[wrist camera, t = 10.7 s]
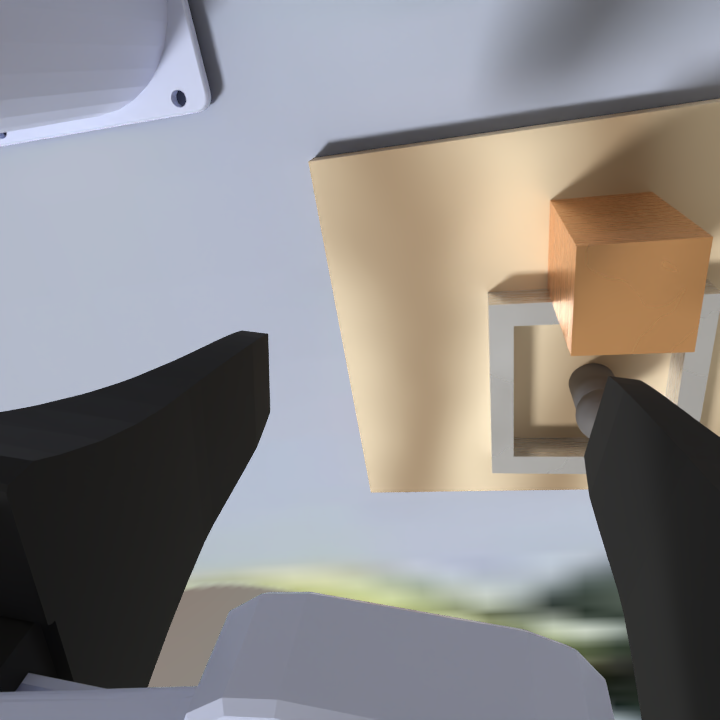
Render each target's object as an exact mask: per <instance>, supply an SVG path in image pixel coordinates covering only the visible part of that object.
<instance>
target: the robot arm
mask: <svg viewBox="0 0 720 720" xmlns="http://www.w3.org/2000/svg"><path fill="white" fill-rule="evenodd" d="M179 90H180V91H182V92H183V93H184V94H185V96H186V104H185V106H181V105H180V104H179V103H178V101H177V99H176V94H177V92H178V91H179ZM210 102H211V92H210V88H209V84H208V80H207V76H206V72H205V68H204V64H203V60H202V56H201V52H200V48H199V44H198V40H197V36H196V32H195V28H194V24H193V20H192V16H191V12H190V8H189V4H188V0H0V147H1V146H7V145H12V144H18V143H24V142H30V141H36V140H41V139H47V138H53V137H59V136H65V135H70V134H76V133H82V132H88V131H94V130H99V129H105V128H111V127H117V126H123V125H128V124H134V123H140V122H146V121H152V120H157V119H163V118H169V117H175V116H181V115H186V114H192V113H198V112H202V111H204V110H206V109H207V108H208V107H209V105H210ZM4 132H7V135H6V136H5V135H4V134H3V133H4ZM269 414H270V390H269V351H268V334H265V333H257V332H249V331H239V332H236V333H233V334H231V335H228V336H226V337H224V338H221V339H219V340H217V341H215V342H213V343H211V344H209V345H207V346H205V347H202V348H200V349H198V350H196V351H194V352H192V353H190V354H188V355H185V356H183V357H181V358H179V359H177V360H175V361H172V362H170V363H168V364H165V365H163V366H161V367H158V368H156V369H153V370H151V371H149V372H146V373H144V374H142V375H139V376H137V377H134V378H131V379H129V380H126V381H123V382H120V383H117V384H115V385H111V386H108V387H105V388H102V389H99V390H96V391H92V392H89V393H85V394H82V395H78V396H74V397H70V398H65V399H61V400H57V401H53V402H49V403H45V404H41V405H37V406H32V407H26V408H21V409H16V410H10V411H5V412H0V720H614V715H613V711H612V707H611V702H610V698H609V693H608V689H607V684H606V680H605V679H604V678H603V677H602V676H601V675H600V674H599V673H598V672H597V671H596V670H595V668H594V667H593V666H592V665H591V664H590V663H589V662H588V661H587V660H586V659H585V658H584V657H583V656H582V655H581V654H580V653H579V652H578V651H577V650H576V649H574V648H572V647H570V646H568V645H565V644H562V643H560V642H557V641H554V640H551V639H549V638H546V637H543V636H540V635H538V634H535V633H532V632H529V631H527V630H524V629H518V628H512V627H507V626H501V625H495V624H490V623H484V622H478V621H473V620H467V619H461V618H456V617H450V616H444V615H439V614H433V613H427V612H421V611H416V610H410V609H404V608H399V607H393V606H387V605H382V604H376V603H370V602H365V601H359V600H353V599H348V598H342V597H336V596H331V595H325V594H319V593H313V592H269V593H263V594H260V595H258V596H256V597H255V598H253V599H251V600H249V601H247V602H245V603H243V604H242V605H240V606H238V607H236V608H234V609H232V610H230V611H229V613H228V616H227V618H226V621H225V623H224V625H223V627H222V630H221V632H220V635H219V637H218V639H217V642H216V644H215V646H214V649H213V651H212V654H211V656H210V658H209V660H208V663H207V665H206V668H205V670H204V672H203V675H202V677H201V679H200V682H199V684H198V686H184V687H183V686H181V687H149V688H147V687H148V684H149V681H150V679H151V676H152V673H153V670H154V668H155V665H156V662H157V660H158V657H159V654H160V651H161V649H162V646H163V643H164V641H165V638H166V635H167V632H168V630H169V627H170V625H171V622H172V619H173V617H174V614H175V612H176V610H177V607H178V604H179V602H180V600H181V597H182V594H183V592H184V590H185V587H186V585H187V582H188V580H189V577H190V575H191V573H192V570H193V568H194V566H195V563H196V561H197V558H198V556H199V554H200V551H201V549H202V547H203V544H204V542H205V540H206V538H207V536H208V534H209V532H210V530H211V528H212V526H213V524H214V522H215V521H216V519H217V517H218V515H219V514H220V512H221V510H222V508H223V507H224V505H225V503H226V501H227V500H228V498H229V496H230V494H231V493H232V491H233V489H234V487H235V486H236V484H237V482H238V480H239V479H240V477H241V475H242V473H243V471H244V470H245V468H246V466H247V464H248V462H249V461H250V459H251V457H252V455H253V453H254V451H255V450H256V448H257V445H258V443H259V440H260V438H261V435H262V433H263V430H264V427H265V425H266V422H267V419H268V416H269ZM584 460H585V468H586V477H587V483H588V490H589V496H590V500H591V503H592V507H593V510H594V514H595V517H596V521H597V524H598V527H599V531H600V534H601V537H602V540H603V544H604V547H605V550H606V553H607V557H608V560H609V563H610V566H611V570H612V573H613V576H614V579H615V583H616V586H617V589H618V593H619V597H620V601H621V605H622V608H623V612H624V618H625V623H626V628H627V634H628V639H629V645H630V650H631V656H632V661H633V667H634V674H635V680H636V686H637V693H638V699H639V705H640V711H641V718H642V720H720V437H719V436H718V435H716V434H715V433H714V432H712V431H711V430H710V429H708V428H707V427H705V426H704V425H703V424H701V423H700V422H699V421H697V420H696V419H695V418H693V417H692V416H691V415H689V414H688V413H687V412H685V411H684V410H682V409H681V408H680V407H678V406H677V405H676V404H674V403H673V402H672V401H670V400H669V399H668V398H666V397H665V396H664V395H662V394H661V393H659V392H658V391H657V390H655V389H654V388H652V387H651V386H649V385H648V384H646V383H644V382H643V381H641V380H637V379H629V378H621V377H613V376H608V379H607V382H606V385H605V389H604V392H603V395H602V398H601V402H600V405H599V408H598V412H597V415H596V418H595V421H594V425H593V428H592V431H591V434H590V438H589V441H588V444H587V448H586V451H585V454H584Z"/></svg>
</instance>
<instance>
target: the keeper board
mask: <svg viewBox="0 0 720 720" xmlns="http://www.w3.org/2000/svg"><path fill="white" fill-rule="evenodd" d="M309 167H310V173H311V178H312V183H313V188H314V194H315V199H316V204H317V210H318V215H319V220H320V225H321V231H322V236H323V241H324V247H325V252H326V257H327V262H328V268H329V273H330V278H331V284H332V289H333V294H334V299H335V305H336V310H337V315H338V321H339V326H340V331H341V336H342V342H343V347H344V352H345V357H346V363H347V368H348V373H349V379H350V384H351V389H352V394H353V400H354V405H355V410H356V416H357V421H358V426H359V431H360V437H361V442H362V447H363V453H364V458H365V463H366V468H367V474H368V479H369V484H370V490H371V492H436V491H504V490H571V489H588V483H587V477H586V474H514V473H492V463H491V433H490V386H489V340H488V293H487V292H498V291H517V290H535V289H547V284H548V249H549V215H550V200H558V199H570V198H582V197H593V196H605V195H617V194H629V193H641V192H653V193H654V194H656V195H657V196H659V197H660V198H661V199H663V200H664V201H665V202H667V203H668V204H669V205H671V206H672V207H673V208H675V209H676V210H678V211H679V212H680V213H682V214H683V215H684V216H686V217H687V218H688V219H690V220H691V221H692V222H694V223H695V224H696V225H698V226H699V227H701V228H702V229H703V230H705V231H706V232H707V233H709V234H710V235H711V236H713V241H712V248H711V254H710V260H709V266H708V272H707V278H706V280H709V281H710V282H711V283H712V284H713V285H714V286H715V287H716V288H717V289H719V290H720V98H719V99H712V100H705V101H699V102H692V103H685V104H678V105H671V106H665V107H658V108H651V109H644V110H637V111H630V112H624V113H617V114H610V115H603V116H596V117H590V118H583V119H576V120H569V121H562V122H555V123H549V124H542V125H535V126H528V127H521V128H515V129H508V130H501V131H494V132H487V133H480V134H474V135H467V136H460V137H453V138H446V139H440V140H433V141H426V142H419V143H412V144H405V145H399V146H392V147H385V148H378V149H371V150H365V151H358V152H351V153H344V154H337V155H330V156H324V157H317V158H313V159H312V160H310V161H309ZM670 359H671V353H653V354H622V355H591V356H571V355H570V352H569V349H568V347H567V344H566V341H565V338H564V335H563V332H562V329H561V326H560V324H554V325H531V326H514V438H590V434H591V431H592V428H593V425H594V421H595V418H596V415H597V412H598V408H599V405H600V402H601V398H602V395H603V392H604V389H605V385H606V382H607V379H608V376H613V377H621V378H629V379H637V380H641V381H643V382H644V383H646V384H648V385H649V386H651V387H652V388H654V389H655V390H657V391H658V392H659V393H661V394H662V395H664V396H665V394H666V387H667V380H668V373H669V366H670ZM700 423H701V424H703V425H704V426H705V427H707V428H708V429H710V430H711V431H712V432H714V433H715V434H716V435H718V436H719V437H720V312H719V318H718V323H717V329H716V334H715V340H714V346H713V351H712V357H711V363H710V368H709V374H708V380H707V385H706V391H705V396H704V402H703V408H702V413H701V419H700Z"/></svg>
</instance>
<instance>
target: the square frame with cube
mask: <svg viewBox="0 0 720 720" xmlns="http://www.w3.org/2000/svg"><path fill="white" fill-rule="evenodd" d="M712 241H713V236H711V235H710V234H709V233H707V232H706V231H705V230H703V229H702V228H701V227H699V226H698V225H696V224H695V223H694V222H692V221H691V220H690V219H688V218H687V217H686V216H684V215H683V214H682V213H680V212H679V211H678V210H676V209H675V208H673V207H672V206H671V205H669V204H668V203H667V202H665V201H664V200H663V199H661V198H660V197H659V196H657V195H656V194H654V193H653V192H641V193H629V194H617V195H605V196H593V197H582V198H570V199H558V200H550V215H549V249H548V284H547V289H535V290H517V291H498V292H487V293H488V340H489V386H490V433H491V463H492V473H514V474H586V468H585V460H584V454H585V451H586V448H587V444H588V441H589V438H514V326H531V325H554V324H560V326H561V329H562V332H563V335H564V338H565V341H566V344H567V347H568V349H569V352H570V355H571V356H591V355H622V354H653V353H671V359H670V366H669V373H668V380H667V387H666V394H665V397H666V398H668V399H669V400H670V401H672V402H673V403H674V404H676V405H677V406H678V407H680V408H681V409H682V410H684V411H685V412H687V413H688V414H689V415H691V416H692V417H693V418H695V419H696V420H697V421H699V422H700V419H701V413H702V408H703V402H704V396H705V391H706V385H707V380H708V374H709V368H710V363H711V357H712V351H713V346H714V340H715V334H716V329H717V323H718V318H719V312H720V290H719V289H717V288H716V287H715V286H714V285H713V284H712V283H711V282H710V281H709V280H706V278H707V272H708V266H709V260H710V254H711V248H712Z"/></svg>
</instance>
